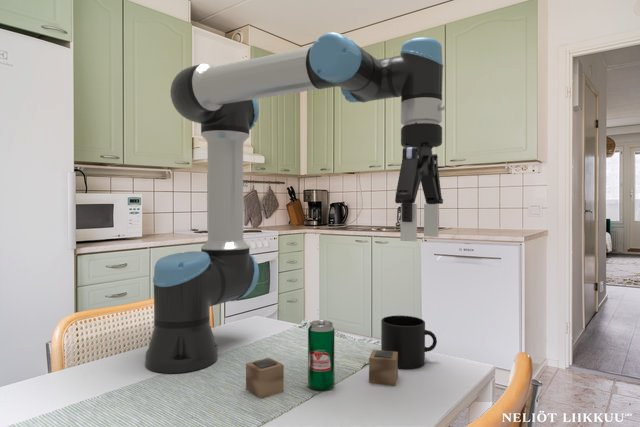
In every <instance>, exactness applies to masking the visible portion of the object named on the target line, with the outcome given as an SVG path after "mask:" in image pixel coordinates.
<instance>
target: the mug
mask: <svg viewBox="0 0 640 427" xmlns="http://www.w3.org/2000/svg"><path fill="white" fill-rule="evenodd" d="M380 326H381V328H380V330H381V331H380V332H381V334H380V339H381V340H380V341H381V343H380V348H381V350H382V351H394V352H398V369H402V370H411V369H418V368H421V367H423V366H424V364H425V362H426V353H427V352H431V351H433V350H434V349H435V348H436V346H437V342H438V340H437V336H436V335H435V333H434V332H432V331H431V330H428V329H426V321H425V320H424V319H422V318H420V317H416V316H412V315H401V314H400V315H399V314H398V315H389V316H384V317H383V318H381V325H380ZM426 336H430V337H431V338H432V344H431V345H430V346H429V347H427V346H426Z"/></svg>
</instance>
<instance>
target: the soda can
mask: <svg viewBox="0 0 640 427" xmlns="http://www.w3.org/2000/svg"><path fill="white" fill-rule="evenodd" d="M333 325H334V324H333V322H332V321H330V320H323V319H319V320H313V321H310V322H309V326H308V328H307V385H308V386H309V387H310V388H311V390H315V391H327V390H330V389H332V388H333V386H334V385H335V365H336V364H335V357H336V356H335V355H336V354H335V350H336V349H335V340H336V339H335V337H336V335H335V330H336V329H335V327H334V326H333Z"/></svg>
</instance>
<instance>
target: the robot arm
mask: <svg viewBox="0 0 640 427" xmlns="http://www.w3.org/2000/svg"><path fill="white" fill-rule="evenodd" d="M400 49H401V51H400V55H396V56H392V57H385V58H381V59H378V58H375V57H374V56H373V55H372V54H370V53H369V52H367V51H366V50H364V48H363V47H360V46H359V45H358V44H357V43H356V42H355V41H354V40H353V39H351V38H350V37H348V36H344V35H343V34H341V33H338V32H334V31H332V32H325V33H323V34H321V36H320V37H319V38H317V39H315V41H314V42H313V44H312V45H311V46H308V47H303V48H302V47H301V48H298V49H293V50H288V51H283V52H278V53H274V54H268V55H265V56H264V55H263V56H259V57H256V58H250V59H245V60H241V61H236V62H231V63H226V64H221V65H217V66H214V65H213V64H210V63H201V64H198V65H192V66H188V67H186V68H184V69H183V70H181V71H180V72H178V73H177V74H176V76H175V77H174V78H173V80H172V81H171V85H170V91H169V92H170V99H171V103H172V105H173V107H174V108H175V110H176V111H177V113H179V114H180V115H181V116H182V117H183V118H185V119H186V120H188V121H191V122H193V123H196V124H197V123H198V124H200V136H201V137H202V138H203V139H205V141H206V143H207V144H206V145H207V149H206V150H207V241H206V242H205V243H204V244H203V245H201V247H200V248H201V249H200V251H196V250H195V251H185V252H176V253H172V254H168V255H165V256H163V257H160V258H159V259H158V260H156V262H155V265H154V268H153V270H154V271H153V272H154V273H153V277H152V283H153V305H154V306H153V331H152V334H151V338H150V342H149V344H148V349H147V351H146V353H145V367H146V368H147V369H148V370H150V371H153V372H157V373H164V374H179V373H187V372H189V373H190V372H193V371H194V372H195V371H197V370H201V369H204V368H207V367H209V366H211V365H213V364H214V363H216V362H217V360H218V358H219V357H218V356H219V354H218V353H219V350H218V349H219V348H218V345H217V343H216V341H215V340H216V339H215V336H214V333H213V330H212V328H211V323H210V321H211V320H210V309H211V308H210V307H213V306H217V305H221V304H224V303H228V302H235V301H237V300H241V298H245V297H247V296H249V294H250V293H252V291H253V290H254V289H255V288H256V286H257V284H258V280H259V277H260V270H259V264H258V262H257V261H256V260H255V257H254V256H253V255H252V253H250V245H249V243H247V242H246V241H245V240H244V143H245V142H246V140H248V139H249V137H250V131H251V130H252V129H253V127H255V123H256V122H257V121H258V118H259V112H260V110H259V108H260V107H259V103H258V100H259V99H264V98H266V99H267V98H272V97H278V96H283V95H290V94H296V93H303V92H308V91H315V90H323V89H324V90H325V89H329V88H336V87H338V88H340V91H341V94H342V95H343V96H344V99H345V100H346V101H347V102H349V103H363V104H364V103H368V102H371V101H372V102H373V101H379V100H386V99H387V100H388V99H392V98H393V99H395V98H400V97H401V98H400V124H401V125H403V126H402V127H401V128H400V145H401V147H403V148H402V160H401V165H400V170H399V176H398V180H397V185H396V191H395V198H394V199H395V200H394V203H396V204H400V241H401V242H417V241H418V203H415V202H416V198H417V195H418V191H419V189H420V184H421V188H422V192H423V196H424V199H425V203H424V204H423V237H431V238H432V237H435V238H436V237H437V238H438V237H439V207H440V206H439V205H441V204H443V203H444V198H443V196H442V189H441V188H442V187H441V181H440V174H439V164H438V158H439V156H438V154H436V153H435V154H434V153H433V148H438V147H440V146H441V145H442V144H443V126H442V125H440V124H441V123H442V121H443V113H442V112H443V111H444V110H445V109H446V106H445V105H444V104H443V78H444V77H443V74H444V73H443V70H444V69H443V68H444V63H443V48H442V43H441V42H440V41H438V40H437V39H435V38H432V37H423V36H422V37H414V38H411V39H410V40H406V41H405V42H403V43H402V46H401V48H400Z"/></svg>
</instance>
